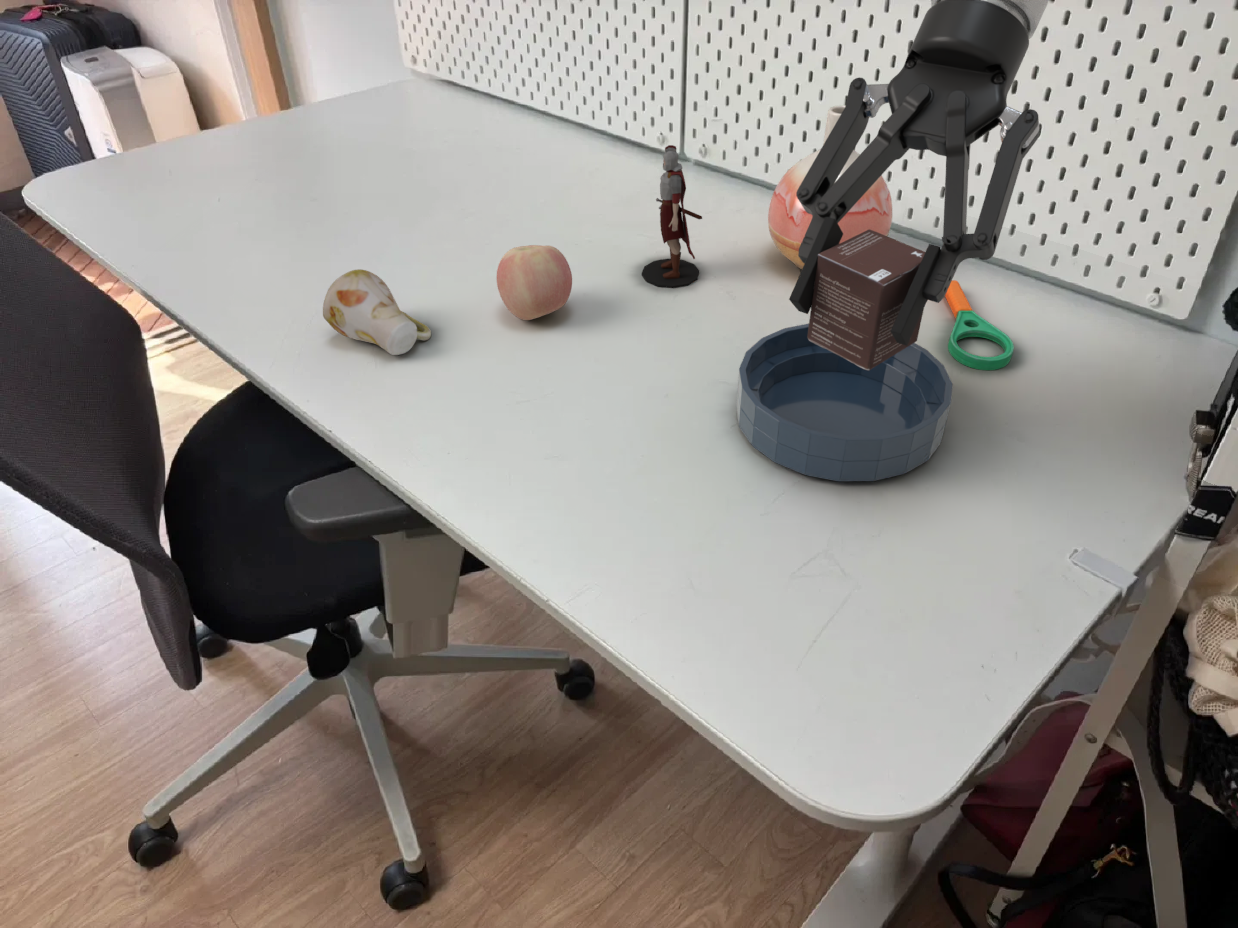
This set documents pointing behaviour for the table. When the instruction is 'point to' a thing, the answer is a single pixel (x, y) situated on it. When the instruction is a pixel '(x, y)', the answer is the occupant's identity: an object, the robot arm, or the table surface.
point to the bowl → (841, 408)
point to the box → (862, 297)
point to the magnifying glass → (974, 333)
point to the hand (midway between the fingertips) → (847, 321)
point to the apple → (534, 280)
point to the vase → (794, 221)
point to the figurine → (672, 229)
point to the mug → (370, 313)
